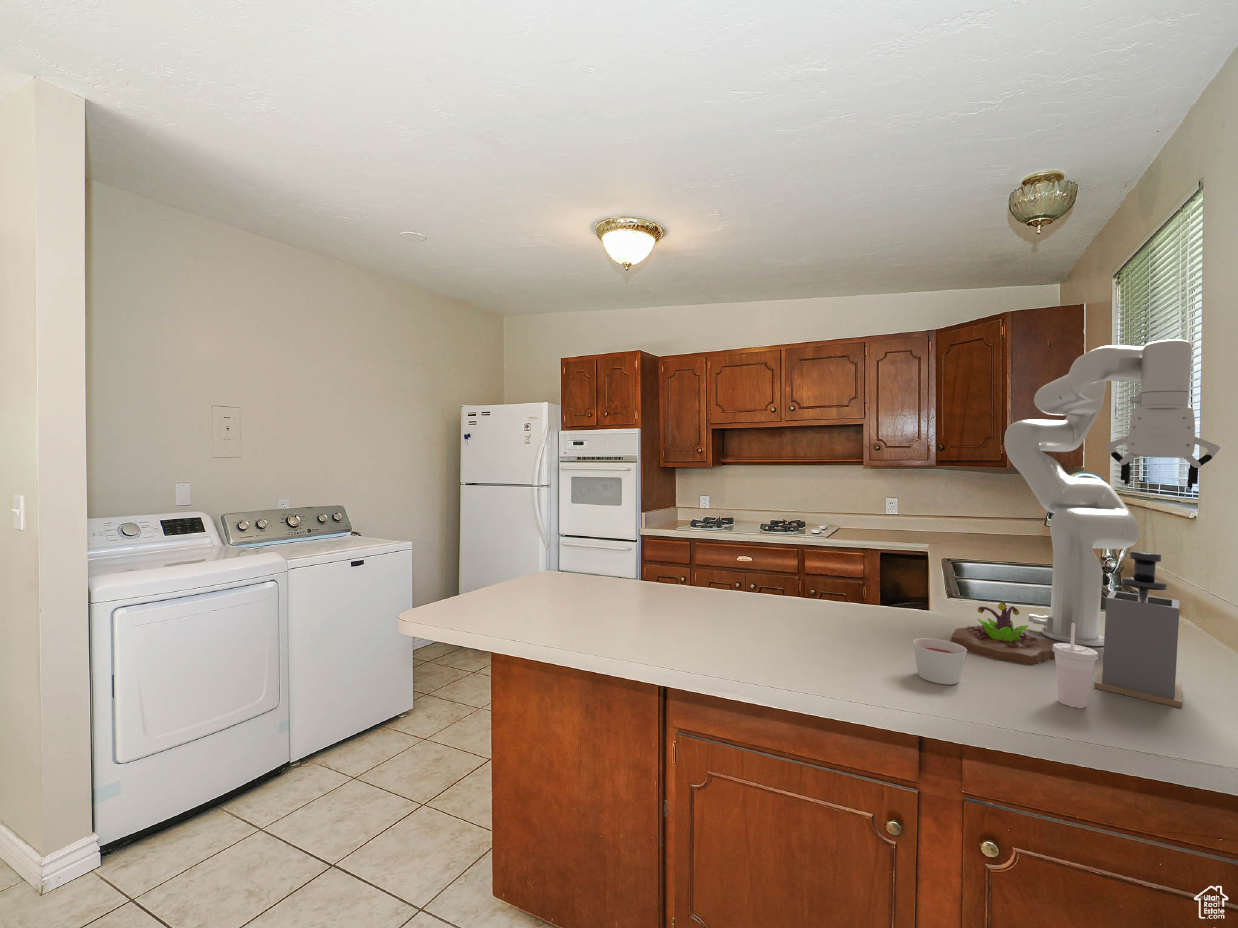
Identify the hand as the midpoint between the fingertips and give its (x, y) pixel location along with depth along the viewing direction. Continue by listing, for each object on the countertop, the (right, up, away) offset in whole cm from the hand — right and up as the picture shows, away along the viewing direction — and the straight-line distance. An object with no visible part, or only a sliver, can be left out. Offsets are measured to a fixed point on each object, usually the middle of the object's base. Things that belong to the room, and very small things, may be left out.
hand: (1157, 485), depth 123 cm
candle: (-50, -37, -9) cm, 62 cm away
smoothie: (-32, -37, -19) cm, 52 cm away
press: (-13, -38, -10) cm, 41 cm away
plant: (-24, -38, +12) cm, 46 cm away
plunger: (-13, -37, -10) cm, 40 cm away
